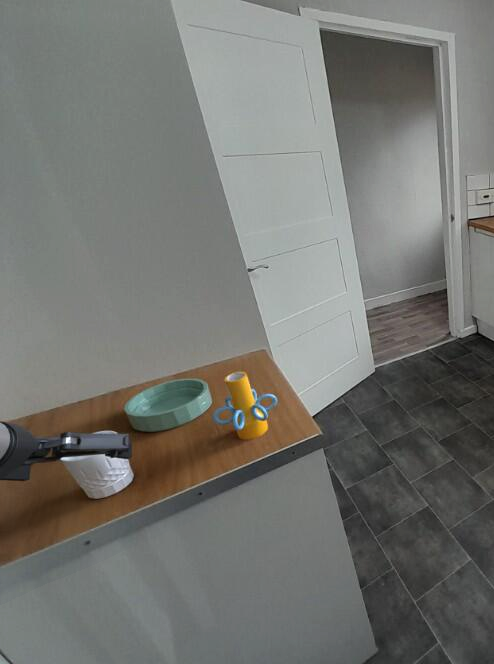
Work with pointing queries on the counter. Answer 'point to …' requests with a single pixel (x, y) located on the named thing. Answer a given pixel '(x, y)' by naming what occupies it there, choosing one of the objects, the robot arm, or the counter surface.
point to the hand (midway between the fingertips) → (80, 461)
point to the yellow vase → (245, 407)
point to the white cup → (99, 473)
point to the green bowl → (168, 405)
